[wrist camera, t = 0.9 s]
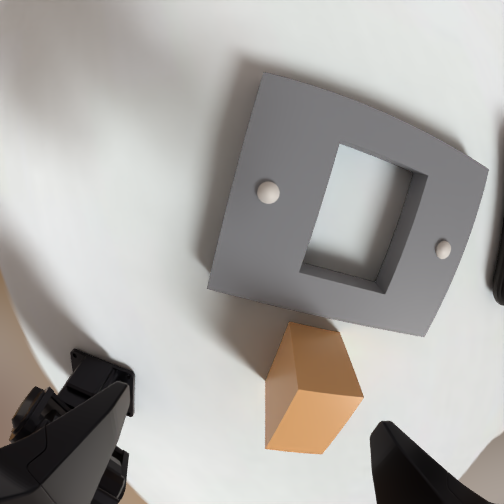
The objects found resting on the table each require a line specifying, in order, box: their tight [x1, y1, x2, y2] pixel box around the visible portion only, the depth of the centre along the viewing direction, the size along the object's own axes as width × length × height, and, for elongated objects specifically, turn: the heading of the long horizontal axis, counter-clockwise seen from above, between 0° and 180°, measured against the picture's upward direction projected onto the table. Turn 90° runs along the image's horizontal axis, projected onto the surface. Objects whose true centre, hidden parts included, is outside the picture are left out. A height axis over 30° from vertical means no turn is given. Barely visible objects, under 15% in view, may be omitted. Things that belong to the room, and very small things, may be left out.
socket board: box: [207, 72, 489, 337], centre depth 17 cm, size 13×16×2 cm
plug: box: [265, 322, 364, 454], centre depth 19 cm, size 6×4×7 cm, turn 165°
